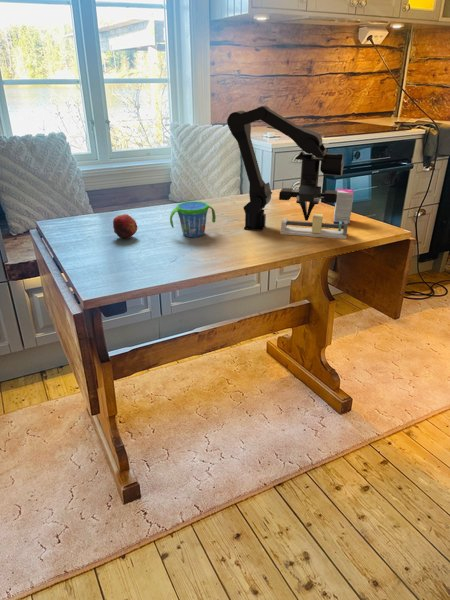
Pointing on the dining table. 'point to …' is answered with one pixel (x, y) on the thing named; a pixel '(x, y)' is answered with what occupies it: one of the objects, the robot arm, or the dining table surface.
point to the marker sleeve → (317, 223)
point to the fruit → (124, 226)
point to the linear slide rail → (308, 231)
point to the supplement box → (343, 206)
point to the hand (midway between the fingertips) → (306, 220)
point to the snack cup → (192, 217)
